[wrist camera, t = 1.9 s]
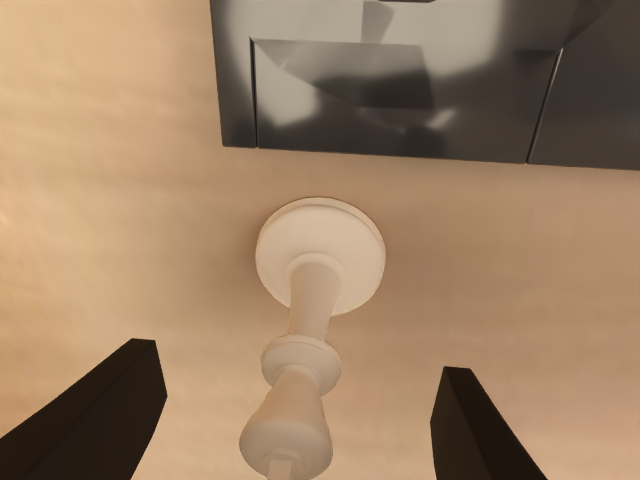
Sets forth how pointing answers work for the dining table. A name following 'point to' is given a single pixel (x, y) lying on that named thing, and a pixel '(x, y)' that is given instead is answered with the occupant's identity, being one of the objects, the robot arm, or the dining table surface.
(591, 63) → the dark grey flat block
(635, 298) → the dining table surface
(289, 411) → the chess piece
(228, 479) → the dining table surface
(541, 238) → the dining table surface
